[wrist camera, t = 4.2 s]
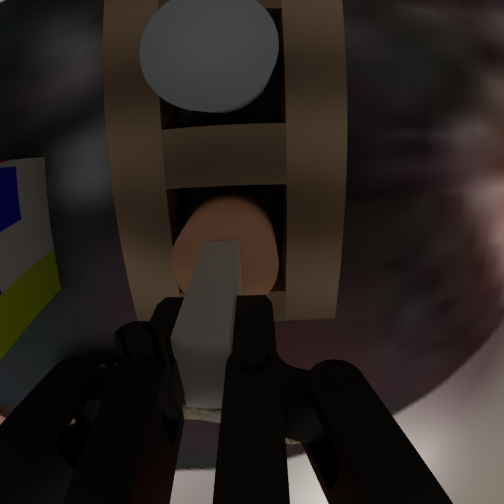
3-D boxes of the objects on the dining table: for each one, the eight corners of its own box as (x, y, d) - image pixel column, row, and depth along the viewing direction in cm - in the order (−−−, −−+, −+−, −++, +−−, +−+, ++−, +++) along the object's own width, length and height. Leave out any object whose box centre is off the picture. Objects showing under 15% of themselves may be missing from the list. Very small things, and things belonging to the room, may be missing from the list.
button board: (133, -87, 11) (119, -106, 8) (314, -101, 10) (322, -123, 8) (150, 296, 22) (137, 320, 19) (325, 292, 22) (334, 318, 19)
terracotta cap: (187, 190, 18) (164, 216, 13) (272, 186, 18) (278, 212, 13) (194, 266, 20) (178, 311, 15) (273, 264, 20) (278, 310, 15)
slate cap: (171, 28, 13) (140, -3, 8) (269, 21, 13) (275, -16, 8) (174, 116, 15) (141, 118, 10) (272, 111, 15) (281, 108, 10)
